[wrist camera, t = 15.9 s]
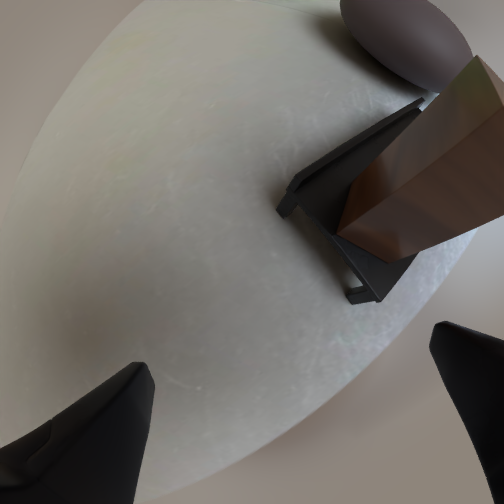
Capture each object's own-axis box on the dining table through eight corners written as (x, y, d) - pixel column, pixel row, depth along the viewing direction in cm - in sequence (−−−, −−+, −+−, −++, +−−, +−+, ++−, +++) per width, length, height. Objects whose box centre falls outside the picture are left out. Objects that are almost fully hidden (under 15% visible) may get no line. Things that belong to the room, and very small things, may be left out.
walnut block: (388, 263, 18) (558, 187, 5) (335, 234, 17) (503, 106, 4) (399, 211, 19) (532, 119, 6) (351, 181, 19) (476, 54, 6)
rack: (448, 184, 27) (476, 165, 22) (352, 306, 21) (394, 300, 15) (398, 122, 28) (421, 96, 23) (273, 209, 21) (295, 174, 16)
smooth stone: (316, 59, 28) (358, -28, 14) (331, 10, 36) (356, -43, 21) (457, 142, 30) (516, 92, 16) (433, 66, 38) (468, 26, 23)
